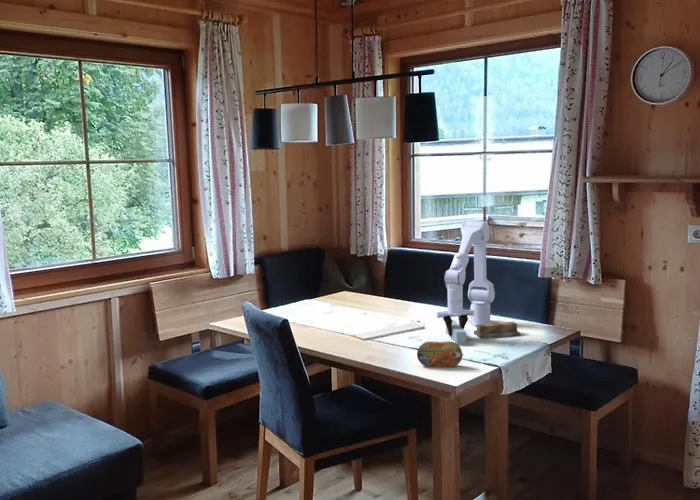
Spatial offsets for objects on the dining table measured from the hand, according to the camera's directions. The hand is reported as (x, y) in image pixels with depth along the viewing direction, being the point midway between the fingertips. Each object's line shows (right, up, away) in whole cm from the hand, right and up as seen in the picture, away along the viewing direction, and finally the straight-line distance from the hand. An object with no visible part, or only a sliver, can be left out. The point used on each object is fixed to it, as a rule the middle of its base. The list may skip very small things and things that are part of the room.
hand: (455, 334), depth 260 cm
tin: (-10, -7, -32) cm, 34 cm away
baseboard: (-25, -1, +14) cm, 29 cm away
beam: (0, -1, 0) cm, 2 cm away
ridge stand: (+17, 0, +4) cm, 17 cm away
